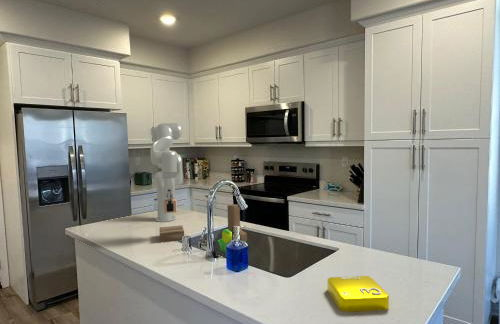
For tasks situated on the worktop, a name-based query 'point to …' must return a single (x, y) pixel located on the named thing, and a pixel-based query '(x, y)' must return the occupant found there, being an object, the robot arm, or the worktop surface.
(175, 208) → the terracotta cube
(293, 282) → the worktop surface
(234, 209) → the wooden block
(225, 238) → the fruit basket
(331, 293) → the element tile
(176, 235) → the walnut base block
